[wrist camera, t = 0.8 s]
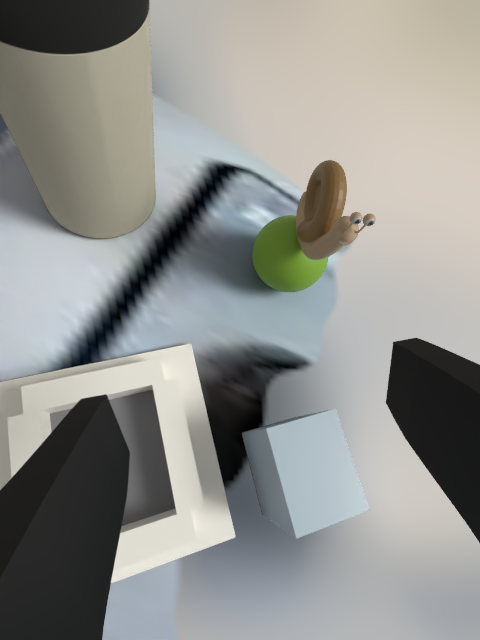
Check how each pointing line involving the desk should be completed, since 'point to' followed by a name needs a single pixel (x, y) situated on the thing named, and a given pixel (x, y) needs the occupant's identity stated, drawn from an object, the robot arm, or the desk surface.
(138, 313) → the desk surface
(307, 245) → the snail figurine
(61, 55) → the travel mug
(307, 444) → the plug block
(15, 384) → the socket plate
